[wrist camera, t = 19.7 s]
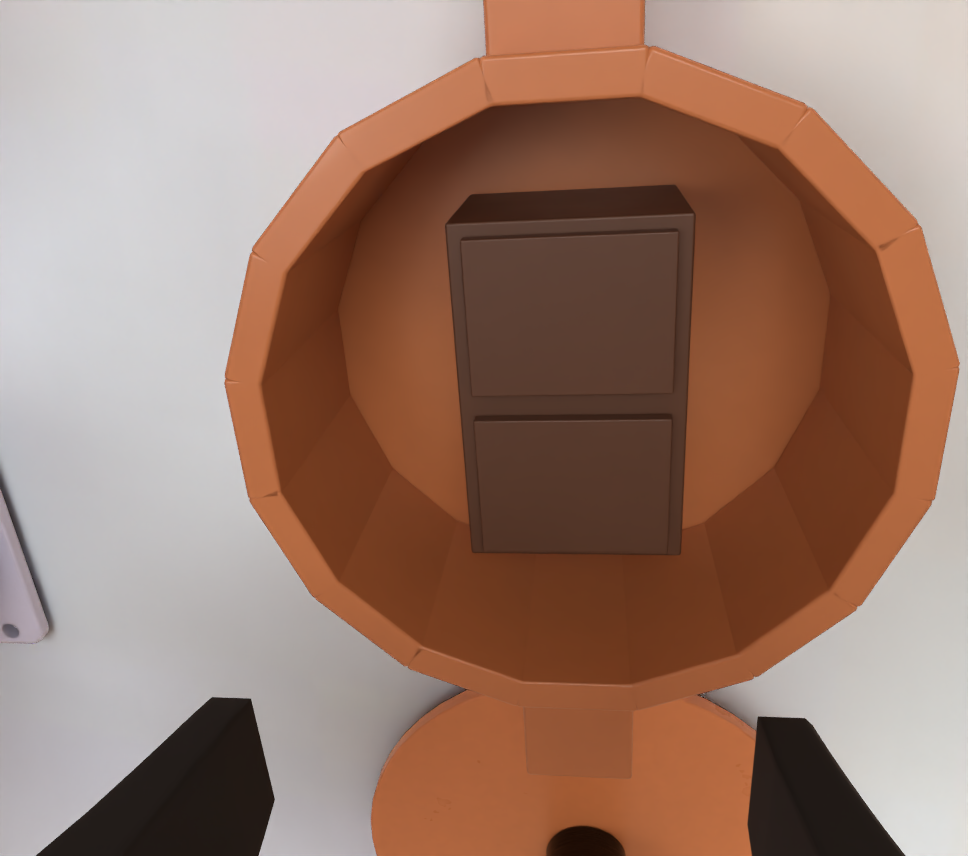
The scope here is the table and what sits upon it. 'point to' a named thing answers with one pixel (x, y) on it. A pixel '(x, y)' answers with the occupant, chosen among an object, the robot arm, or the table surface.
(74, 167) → the table surface
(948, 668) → the table surface
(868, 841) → the robot arm
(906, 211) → the pan
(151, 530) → the table surface
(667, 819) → the lid
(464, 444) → the chocolate bar
